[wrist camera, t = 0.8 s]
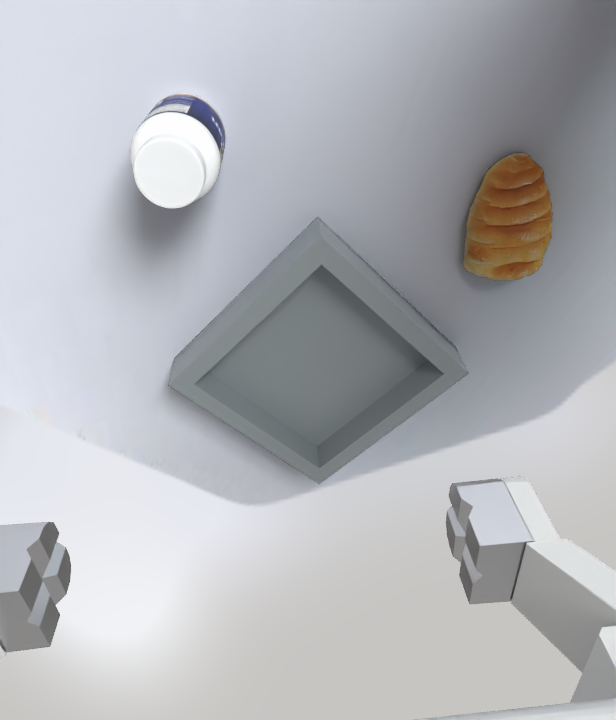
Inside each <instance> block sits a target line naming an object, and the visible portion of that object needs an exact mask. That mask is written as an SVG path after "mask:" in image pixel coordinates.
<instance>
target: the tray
mask: <svg viewBox="0 0 616 720" xmlns="http://www.w3.org/2000/svg"><path fill="white" fill-rule="evenodd" d="M467 374H468V371H467V369H466V367H465V365H464V363H463V361H462V359H461V357H460V355H459V353H458V350H457V348H456V347H455V346H454V345H453V344H452V343H451V342H450V341H449V340H448V339H447V338H446V337H444V336H443V335H442V334H441V333H440V332H439V331H438V330H437V329H436V328H435V327H434V326H433V325H432V324H431V323H430V322H429V321H427V320H426V319H425V318H424V317H423V316H422V315H421V314H420V313H419V312H418V311H417V310H416V309H415V308H414V307H413V306H412V305H411V304H409V303H408V302H407V301H406V300H405V299H404V298H403V297H402V296H401V295H400V294H399V293H398V292H397V291H396V290H395V289H394V288H393V287H391V286H390V285H389V284H388V283H387V282H386V281H385V280H384V279H383V278H382V277H381V276H380V275H379V274H378V273H377V272H376V271H375V270H373V269H372V268H371V267H370V266H369V265H368V264H367V263H366V262H365V261H364V260H363V259H362V258H361V257H360V256H359V255H358V254H356V253H355V252H354V251H353V250H352V249H351V248H350V247H349V246H348V245H347V244H346V243H345V242H344V241H343V240H342V239H341V238H340V237H338V236H337V235H336V234H335V233H334V232H333V231H332V230H331V229H330V228H329V227H328V226H327V225H326V224H325V223H324V222H323V221H322V220H320V219H319V218H318V217H317V218H316V219H315V220H314V221H313V222H312V223H311V224H310V225H309V226H308V227H307V228H306V229H305V230H304V231H303V232H302V233H301V234H300V235H299V236H298V237H297V238H296V239H295V240H294V241H293V242H292V243H291V244H290V245H289V246H288V247H287V248H286V249H285V250H283V251H282V252H281V253H280V254H279V255H278V256H277V257H276V258H275V259H274V260H273V261H272V262H271V263H270V264H269V265H268V266H267V267H266V268H265V269H264V270H263V271H262V272H261V273H260V274H259V275H258V276H257V277H256V278H255V279H254V280H253V281H252V282H251V283H250V284H249V285H248V286H247V287H246V288H245V289H244V290H243V291H242V292H241V293H240V294H239V295H238V296H237V297H236V298H235V299H234V300H233V301H232V302H231V303H230V304H229V305H228V306H227V307H226V308H225V309H224V310H223V311H222V312H221V313H220V314H219V315H218V316H217V317H216V318H215V319H214V320H213V321H212V322H211V323H210V324H209V325H208V326H207V327H205V328H204V329H203V330H202V331H201V332H200V333H199V334H198V335H197V336H196V337H195V338H194V339H193V340H192V341H191V342H190V343H189V344H188V345H187V346H186V347H185V348H184V349H183V350H182V351H181V352H180V353H179V354H178V355H177V356H176V357H175V358H174V362H173V367H172V371H171V375H170V380H169V384H168V386H170V387H171V388H173V389H174V390H176V391H177V392H179V393H180V394H182V395H184V396H185V397H187V398H188V399H190V400H191V401H193V402H194V403H196V404H197V405H199V406H200V407H202V408H203V409H205V410H207V411H208V412H210V413H211V414H213V415H214V416H216V417H217V418H219V419H220V420H222V421H223V422H225V423H226V424H228V425H229V426H231V427H233V428H234V429H236V430H237V431H239V432H240V433H242V434H243V435H245V436H246V437H248V438H249V439H251V440H252V441H254V442H256V443H257V444H259V445H260V446H262V447H263V448H265V449H266V450H268V451H269V452H271V453H272V454H274V455H275V456H277V457H279V458H280V459H282V460H283V461H285V462H286V463H288V464H289V465H291V466H292V467H294V468H295V469H297V470H298V471H300V472H302V473H303V474H305V475H306V476H308V477H309V478H311V479H312V480H314V481H315V482H317V483H318V484H320V483H321V482H323V481H324V480H326V479H327V478H328V477H330V476H331V475H332V474H334V473H335V472H336V471H338V470H339V469H340V468H342V467H343V466H344V465H346V464H347V463H348V462H350V461H351V460H352V459H354V458H355V457H357V456H358V455H359V454H361V453H362V452H363V451H365V450H366V449H367V448H369V447H370V446H371V445H373V444H374V443H375V442H377V441H378V440H379V439H381V438H382V437H383V436H385V435H386V434H388V433H389V432H390V431H392V430H393V429H394V428H396V427H397V426H398V425H400V424H401V423H402V422H404V421H405V420H406V419H408V418H409V417H410V416H412V415H413V414H414V413H416V412H417V411H418V410H420V409H421V408H423V407H424V406H425V405H427V404H428V403H429V402H431V401H432V400H433V399H435V398H436V397H437V396H439V395H440V394H441V393H443V392H444V391H445V390H447V389H448V388H449V387H451V386H452V385H454V384H455V383H456V382H458V381H459V380H460V379H462V378H463V377H464V376H466V375H467Z"/></svg>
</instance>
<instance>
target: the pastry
mask: <svg viewBox="0 0 616 720" xmlns="http://www.w3.org/2000/svg"><path fill="white" fill-rule="evenodd" d="M552 215H553V213H552V203H551V200H550V196H549V191H548V189H547V187H546V184H545V180H544V172H543V169H542V168H541V167H540V166H539V165H538V164H537V163H536V162H534V161H533V160H532V159H531V158H530V156H529V155H527V154H525V153H515V154H511V155H508V156H506V157H504V158H502V159H501V160H499V161H498V162H497V163H495V164H494V165H493V166H492V167H491V168H490V169H489V170H488V171H487V172H486V174H485V177H484V180H483V182H482V184H481V187H480V189H479V191H478V193H477V194H476V196H475V200H474V202H473V204H472V205H471V207H470V209H469V217H468V219H467V223H466V229H467V234H466V240H465V256H464V260H463V266H464V269H465V270H466V271H468V272H470V273H473V274H475V275H477V276H481V277H487V278H489V279H493V280H517V279H521V278H523V277H524V276H529V275H531V274H533V273H534V272H536V271H537V270H538V269H539V268H540V267H541V265H542V259H543V256H544V253H545V251H546V249H547V246H548V244H549V242H550V239H551V223H552Z"/></svg>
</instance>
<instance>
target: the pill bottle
mask: <svg viewBox="0 0 616 720" xmlns="http://www.w3.org/2000/svg"><path fill="white" fill-rule="evenodd" d="M224 148H225V130H224V125H223V123H222V120H221V118H220V116H219V114H218V113H217V111H216V110H215V109H214V108H213V106H212V105H210V104H209V103H208V102H207V101H205V100H204V99H202V98H200V97H198V96H196V95H192V94H186V93H180V94H174V95H170V96H168V97H166V98H164V99H163V100H161V101H160V102H159V103H158V104H157V105H156V106H155V107H154V108H153V109H152V110H151V112H150V113H149V114H148V116H147V117H146V118H145V119H144V121H143V122H142V123H141V125H140V126H139V127H138V129H137V130H136V132H135V134H134V136H133V139H132V142H131V146H130V161H131V166H132V169H133V173H134V179H135V182H136V184H137V187H138V188H139V190H140V192H141V193H142V194H143V195H144V196H145V197H146V198H147V199H148V200H149V201H151V202H152V203H154V204H156V205H158V206H160V207H164V208H169V209H176V208H181V207H185V206H187V205H189V204H191V203H192V202H194V201H196V200H198V199H200V198H202V197H203V196H205V195H206V194H207V193H208V192H209V191H210V190H211V188H212V187H213V186H214V184H215V182H216V180H217V177H218V175H219V171H220V167H221V162H222V158H223V152H224Z"/></svg>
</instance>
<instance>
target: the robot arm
mask: <svg viewBox="0 0 616 720" xmlns="http://www.w3.org/2000/svg"><path fill="white" fill-rule="evenodd" d="M449 498H450V501H451V504H452V507H451V508H450V509H449V510H448V511H447V517H446V527H447V537H448V540H449V545H450V548H451V552H452V554H453V557H455V558H456V559H457V560H458V561H460V562H461V567H460V574H459V575H460V578H461V581H462V584H463V587H464V590H465V593H466V596H467V598H468V601H469V604H479V603H492V602H507V601H512V604H513V606H515V607H516V608H517V609H518V610H519V611H520V612H521V613H522V614H523V615H524V616H525V617H526V618H527V619H528V620H529V621H530V622H531V623H532V624H533V625H534V626H535V627H536V628H537V629H538V630H539V631H540V632H541V633H542V634H543V635H544V636H545V637H546V638H547V639H548V640H549V641H550V642H551V643H552V644H553V645H554V646H555V647H557V648H558V649H559V650H560V651H561V652H562V653H563V654H564V655H565V656H566V657H567V658H568V659H569V660H570V661H571V662H572V663H573V664H574V665H575V666H576V667H577V668H578V669H579V670H580V671H581V672H582V676H581V678H580V680H579V683H578V685H577V688H576V690H575V692H574V695H573V697H572V699H571V702H570V703H565V704H555V705H546V706H538V707H528V708H518V709H509V710H500V711H491V712H481V713H472V714H463V715H454V716H445V717H435V718H426V719H417V720H616V571H615V570H613V569H612V568H610V567H609V566H607V565H606V564H605V563H603V562H601V561H600V560H599V559H597V558H596V557H594V556H593V555H591V554H590V553H588V552H587V551H585V550H584V549H583V548H581V547H580V546H578V545H577V544H575V543H574V542H572V541H571V540H569V539H560V537H559V535H558V533H557V531H556V529H555V527H554V525H553V524H552V522H551V520H550V518H549V516H548V515H547V513H546V511H545V509H544V507H543V505H542V503H541V502H540V500H539V498H538V496H537V494H536V493H535V491H534V489H533V487H532V485H531V484H530V482H529V480H528V479H527V478H526V477H524V476H522V477H512V478H501V479H489V480H480V481H470V482H462V483H453V484H452V485H451V487H450V493H449ZM58 535H59V532H58V530H57V528H56V526H55V524H54V523H53V522H42V523H28V524H13V525H0V662H1V661H2V659H3V658H4V657H5V656H6V653H5V652H12V651H20V650H28V649H35V648H43V647H50V645H51V642H52V639H53V636H54V632H55V629H56V626H57V622H58V619H59V616H60V614H59V612H58V610H57V608H56V606H55V605H56V604H57V603H58V602H59V601H60V600H61V599H62V598H63V597H64V596H65V595H66V593H67V590H68V586H69V583H70V573H71V563H70V557H69V554H68V552H67V549H66V547H64V546H62V545H61V544H59V543H57V542H56V541H57V538H58Z"/></svg>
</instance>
